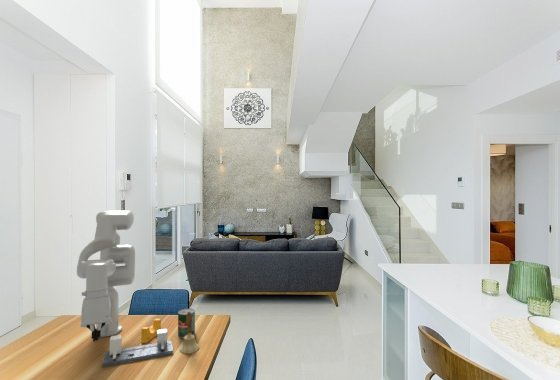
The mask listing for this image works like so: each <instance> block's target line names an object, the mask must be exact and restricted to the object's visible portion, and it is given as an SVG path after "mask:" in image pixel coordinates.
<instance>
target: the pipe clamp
mask: <svg viewBox="0 0 560 380" xmlns="http://www.w3.org/2000/svg"><path fill="white" fill-rule="evenodd" d="M161 329H162V319H161V318H155V319H154V320H153V324H151V325H150V326H143V327H142V328H141V335H140V336H141V344H142V343H145V344H148V342H150V341H151V340H152V339H154V338H155V337H157V330H161Z"/></svg>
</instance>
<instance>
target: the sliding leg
mask: <svg viewBox="0 0 560 380" xmlns="http://www.w3.org/2000/svg"><path fill="white" fill-rule="evenodd" d="M122 342H123V341H122V334H115V335H111V336H110V339H109V351H110V355H113V359H115V358H116V354H120V353H121V349H123V348H122V345H123V344H122Z"/></svg>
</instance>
